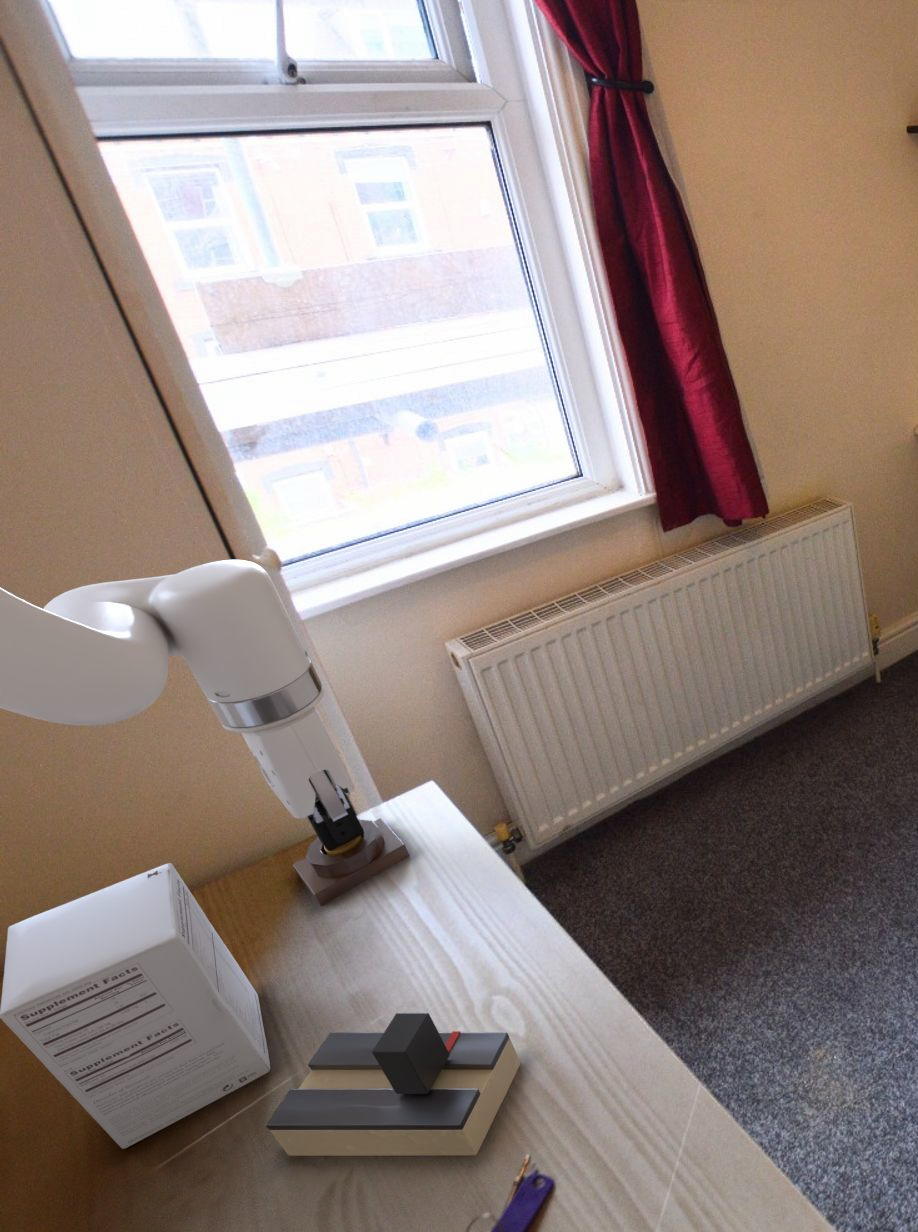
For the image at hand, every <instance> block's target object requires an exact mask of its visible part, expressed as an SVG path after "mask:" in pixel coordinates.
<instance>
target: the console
mask: <svg viewBox="0 0 918 1232" xmlns="http://www.w3.org/2000/svg"><path fill="white" fill-rule="evenodd" d="M384 1032H385V1031H384ZM384 1032H381V1031H380V1032H379V1031H378V1032H375V1031H374V1032H373V1031H372V1032H371V1031H368V1032H367V1031H365V1032H359V1031H358V1032H354V1031H353V1032H352V1031H351V1032H347V1031H346V1032H341V1031H340V1032H333V1031H332V1032H329V1033H328V1035H327V1036H326V1038H325V1039H324V1041H323V1042H322V1043H321V1045H320V1047H319V1048H318V1049H317V1050H316V1051H315V1053H314V1055H313V1056H312V1058H311V1059H310V1061H309V1062H308V1063H307V1066H308V1068H309V1069H310V1072H308V1074H307V1076H306V1077H305V1079H303V1082H302V1083H301V1085H300V1086H299V1087H298V1088H290V1090H289V1091H288V1092H287V1094H286V1095H285V1096H284V1098H283V1099H282V1100H281V1102H280V1104H279V1105H278V1107H276V1110H275V1111H274V1112H273V1114H272V1115H271V1116H270V1118H269V1119H268V1121H267V1122H266V1123H265V1127H266V1128H267V1129H268V1131H269V1132H270V1134H272V1136H273V1137H274V1139H275V1140H276V1141H277V1143H279V1145H280V1146H281V1148H282V1149H283V1151H284V1152H285V1153H286V1155H287V1156H288V1157H304V1156H305V1157H306V1156H307V1157H318V1156H319V1157H324V1156H325V1157H326V1156H328V1157H329V1156H331V1157H333V1156H336V1157H339V1156H340V1157H343V1156H351V1157H352V1156H353V1157H354V1156H355V1157H357V1156H359V1157H361V1156H363V1157H364V1156H365V1157H366V1156H369V1157H370V1156H371V1157H372V1156H375V1157H376V1156H378V1157H379V1156H382V1157H385V1156H390V1157H392V1156H393V1157H395V1156H397V1157H398V1156H400V1157H401V1156H407V1157H408V1156H410V1157H411V1156H413V1157H414V1156H418V1157H419V1156H420V1157H421V1156H434V1157H435V1156H477V1155H478V1153H479V1151H480V1148H481V1147H482V1145H483V1142H484V1140H485V1138H486V1137H487V1134H488V1132H489V1130H490V1128H491V1126H492V1124H493V1122H494V1120H495V1117H496V1116H497V1114H498V1111H499V1109H500V1108H501V1105H502V1103H503V1102H504V1099H505V1097H506V1095H507V1093H508V1091H509V1089H510V1086H511V1085H512V1083H513V1080H514V1079H515V1076H516V1074H517V1073H518V1071H519V1068H520V1066H521V1061H520V1058H519V1056H518V1054H517V1052H516V1049H515V1047H514V1045H513V1043H512V1040H511V1039H510V1035H509V1033H508V1032H507V1031H506V1032H505V1031H504V1032H500V1031H499V1032H493V1031H492V1032H488V1031H487V1032H484V1031H482V1032H481V1031H480V1032H478V1031H477V1032H475V1031H474V1032H473V1031H472V1032H471V1031H467V1032H466V1031H465V1032H461V1031H458V1030H456V1031H452V1032H451V1031H450V1032H448V1031H447V1032H445V1031H444V1032H443V1031H442V1032H441V1031H440V1032H439V1031H438V1032H439V1034H440V1036H441V1038H442V1040H443V1042H444V1044H445V1046H446V1048H447V1050H448V1052H449V1054H450V1056H449V1058H448V1059H447V1061H446V1063H445V1065H444V1067H443V1068H442V1070H441V1072H440V1074H439V1076H438V1077H437V1079H436V1081H435V1083H434V1084H433V1086H432V1088H431V1090H430V1092H429V1093H428V1094H396V1092H395V1091H394V1089H393V1087H392V1086H391V1084H390V1082H389V1081H388V1079H387V1077H386V1076H385V1074H384V1072H383V1070H382V1069H381V1067H380V1065H379V1064H378V1062H377V1060H376V1059H375V1057H374V1055H373V1054H372V1051H373V1049H374V1047H375V1046H376V1044H377V1043H378V1041H379V1040H380V1038H381V1037H382V1035H383V1033H384Z"/></svg>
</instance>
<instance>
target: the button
mask: <svg viewBox="0 0 918 1232" xmlns="http://www.w3.org/2000/svg"><path fill="white" fill-rule="evenodd" d="M362 839H363V838H362V836H359V837H357V838H355V839H353V840H351V841H349V842H347V843H346V844H344V845H342V846H340V847H338V848H336V849H334V850H332V851H328V850H327V849H326V848H325V846H324V849H325V851H326V853H327V855H330V856H334V855H338V854H342V853H345V852H347V851H349V850H351V849H353V848H355V847H356V846H357V845H358V844H359V843H360V842H361V841H362Z"/></svg>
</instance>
